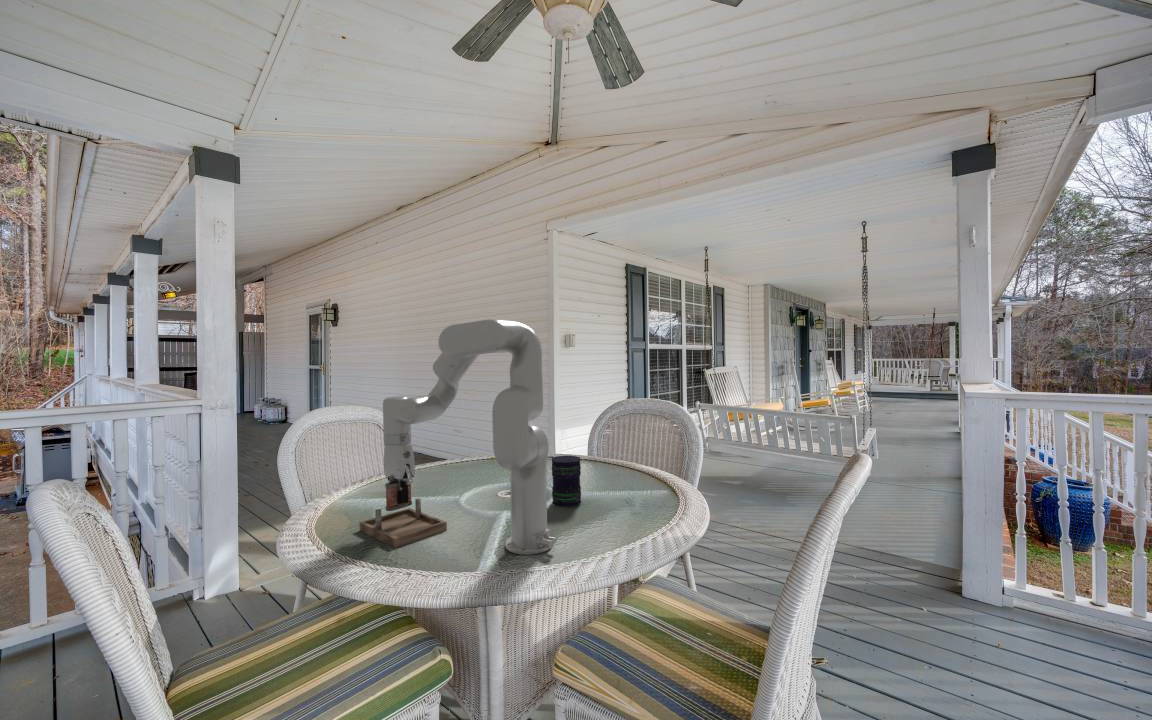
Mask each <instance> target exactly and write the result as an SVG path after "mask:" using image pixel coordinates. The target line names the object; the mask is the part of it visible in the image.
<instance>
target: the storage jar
mask: <svg viewBox="0 0 1152 720" xmlns="http://www.w3.org/2000/svg"><path fill="white" fill-rule="evenodd" d="M581 469H582V466H581V457H580V456H576V455H559V456H554V457H552V458H551V476H552V487H551V490H552V492H551V497H552V505H553V504H554V505H553V506H554V507H559V508H574V507H577V506H579V505H581V504H582V500H581V499H582V487H581V472H582V471H581Z"/></svg>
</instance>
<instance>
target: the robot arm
mask: <svg viewBox="0 0 1152 720" xmlns="http://www.w3.org/2000/svg"><path fill="white" fill-rule="evenodd" d="M541 344H542V343H541V341H540V337H539V336H538V334H537V333H536V331H534V330H533V328H531V327H530V326H528V325H526V324H523V323H521V322H518V321H514V320H508V319H506V320H505V319H497V318H494V319H493V318H492V319H491V318H490V319H489V318H488V319H481V320H476V321H468V322H463V323H455V324H450V325H448V326H446V327H445V328H444V329H443V330H442V331H441V332H440V334H439V337H438V347H439V350H440V352H441V353H440V354H439V356H438V357H437V358H436V360H435V361H434V362H433V364H432V370H433V372H434V374H435V375H436V377H437V378H438V380H437V382H436V383H435V385H434V387H433V388H432V389H431V390H430V392H429V393H428V394H427V395H425V394H423V395H420V396H419V395H418V396H413V397H412V396H411V397H407V396H388V397H385V398H384V399H383V400H382V421H383V423H382V424H383V425H382V427H383V430H382V431H383V474H384V475H385V476H384V477H385V478H386V479H387V483H389V482H390V480H389V476H393V478H394V479H397V480H398V490H397V503H398V504H402V503H406V502H408V489H409V485H410V484H411V485H412V483H413V482H414V481H413V480H414V479H413V478H414V477H415V476H416V464H415V455H414V448H413V444H412V425H416V424H421V423H424V422H430V421H433V420H436V419H438V418H439V417H441V416H442V415H444V413H445V412H446V411H447V410H448V408H449V407H450V406H451V404H452V403H453V401H454V400H455V398H456V396H457V394H458V389H459V382H460V381H461V379H462V378H463V377H464V375H466V373H467V371H468V370H469V369H470V368H471V366H472V365H473V364H474V362H475V361H476V360H477V358H478V357H479V356H480V355H485V354H498V353H499V354H500V353H501V354H503V353H504V354H505V353H510V354H511V356H512V357H511V362H510V366H509V387H507V388H505V389H502V390H501V391H500V392H499V393H498V394H497V395H496V397H495V398H494V401H493V405H492V413H491V414H492V415H491V416H492V420H491V421H492V448H493V449H492V450H493V455H494V457H495V461H496V463H498V465H499V466H500V467H501V468H502V469H504V470H506V471H510V477H509V478H510V479H509V481H510V482H509V483H510V485H509V486H510V488H509V491H510V493H509V494H510V499H509V500H510V537H508V538H507V539H506V541H505V549H506V550H507V551H508V552H510V553H512V554H516V555H517V554H518V555H523V556H524V555H529V556H531V555H538V554H541V553H544V552H547V551H549V550H551V549H553V548H554V546H555V544H556V543H557V541H558V540H557V538H556V537H554V536H551V529H550V528H548V512H547V511H548V509H547V507H548V506H547V505H548V504H547V497H548V496H547V494H548V493H547V486H548V485H547V473H548V472H547V470H548V468H547V467H548V458H549V447H550V446H549V440H548V436H547V434H546V433H545V431H544V430H543V429H541V428H540V427H538V426H536V425H529V422H531V421H534V420H535V419H537V418H539V417H540V416H541V414H542V413H543V409H544V390H543V389H544V388H543V387H544V383H543V357H542V356H543V351H542V345H541ZM403 476H405V478H403ZM401 481H405V482H403V483H402V482H401Z"/></svg>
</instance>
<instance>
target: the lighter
mask: <svg viewBox="0 0 1152 720" xmlns="http://www.w3.org/2000/svg"><path fill="white" fill-rule="evenodd" d="M403 478H405V476H403ZM389 480H390V482H386V483H385V484H384V486H385V504H386V505H385V511H386V512H392V511H398V510H400V509H401V510H402V509H405V508H407V507H409V506H410V507H411V506H412V505H413V500H412V483H411V484H410V485H409V489H408V502H406V503H402V504H398V503H397V490H398V480H397V479H394V478H393V476H389ZM401 482H402V483H403V482H405V481H401Z"/></svg>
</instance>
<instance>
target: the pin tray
mask: <svg viewBox="0 0 1152 720" xmlns="http://www.w3.org/2000/svg"><path fill="white" fill-rule="evenodd" d="M374 513H375V517H373V518H369V519H366V520H363V521H359V531H360V532H362V533H364V534H366V535H367V536H370V537H372V538H375V539H376V540H377V541H381V542H383V543H385V544H387V545H388V546H391V547H393V548H395V549H396V548H399V547H401V546H405V545H407V544H410V543H413V542H416V541H419V540H422V539H425V538H428V537H431V536H435V535H436V534H439V533H442V532H445V531H447V530H448V524H447V523H448V522H447V521H446V520H443V519H440V518H438V517H434V516H432V515H429V514H426V513H423V512H422V498H420V497H417V498H415V509H412V508H410V507H408V508H403V509H401V510H396V511H394V512H391V513H388V514H384V515H383V514H382V509H381V508H378V509H375V510H374Z"/></svg>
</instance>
